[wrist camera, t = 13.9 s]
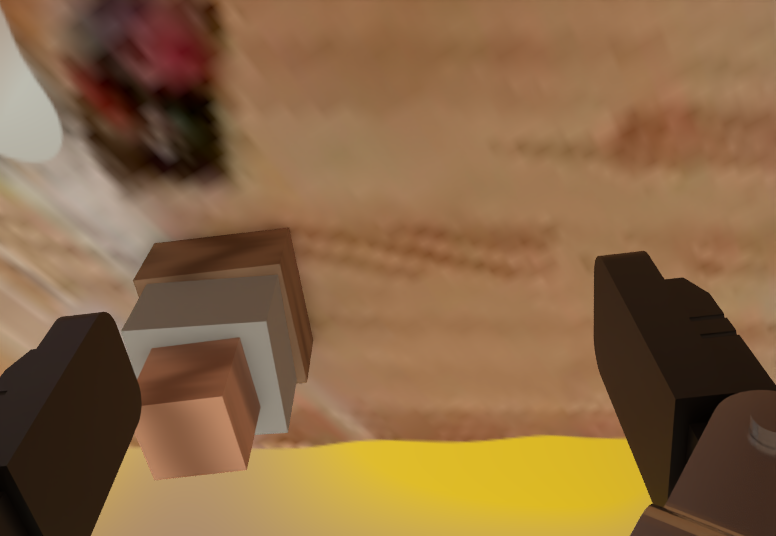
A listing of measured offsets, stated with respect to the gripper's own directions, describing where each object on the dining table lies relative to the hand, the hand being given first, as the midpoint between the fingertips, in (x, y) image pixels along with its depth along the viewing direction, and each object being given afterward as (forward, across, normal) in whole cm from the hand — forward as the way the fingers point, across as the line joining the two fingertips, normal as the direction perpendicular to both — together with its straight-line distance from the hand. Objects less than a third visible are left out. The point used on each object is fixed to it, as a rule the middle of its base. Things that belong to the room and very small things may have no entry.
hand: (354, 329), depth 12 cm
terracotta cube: (+23, +12, +18) cm, 32 cm away
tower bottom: (+33, +12, +18) cm, 40 cm away
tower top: (+28, +12, +18) cm, 36 cm away
